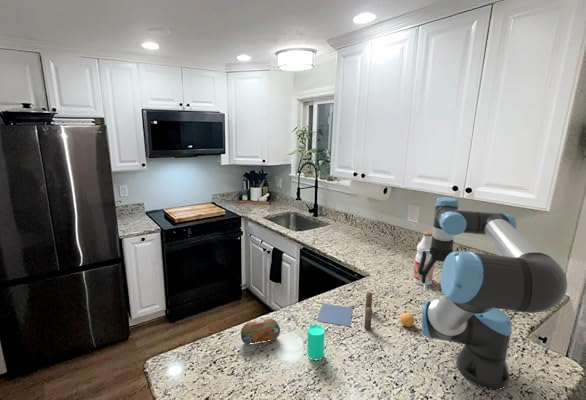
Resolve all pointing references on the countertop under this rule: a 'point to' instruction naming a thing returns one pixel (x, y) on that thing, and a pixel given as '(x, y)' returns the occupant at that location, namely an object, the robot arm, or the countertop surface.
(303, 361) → the countertop surface
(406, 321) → the ball
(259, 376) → the countertop surface
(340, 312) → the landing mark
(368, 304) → the post far
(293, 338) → the countertop surface
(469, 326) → the robot arm
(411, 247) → the countertop surface
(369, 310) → the post near
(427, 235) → the fruit juice
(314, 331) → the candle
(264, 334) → the tin
